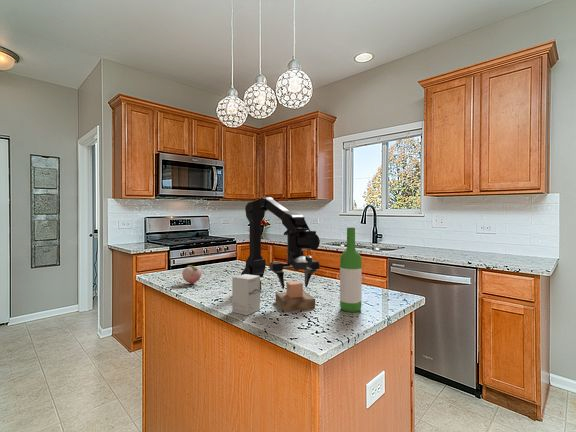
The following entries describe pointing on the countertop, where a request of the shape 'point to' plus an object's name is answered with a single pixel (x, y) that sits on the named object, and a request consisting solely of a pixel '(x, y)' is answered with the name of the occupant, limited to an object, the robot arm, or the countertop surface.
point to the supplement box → (245, 294)
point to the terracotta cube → (294, 289)
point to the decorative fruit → (191, 274)
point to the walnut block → (295, 302)
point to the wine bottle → (350, 276)
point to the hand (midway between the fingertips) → (294, 288)
